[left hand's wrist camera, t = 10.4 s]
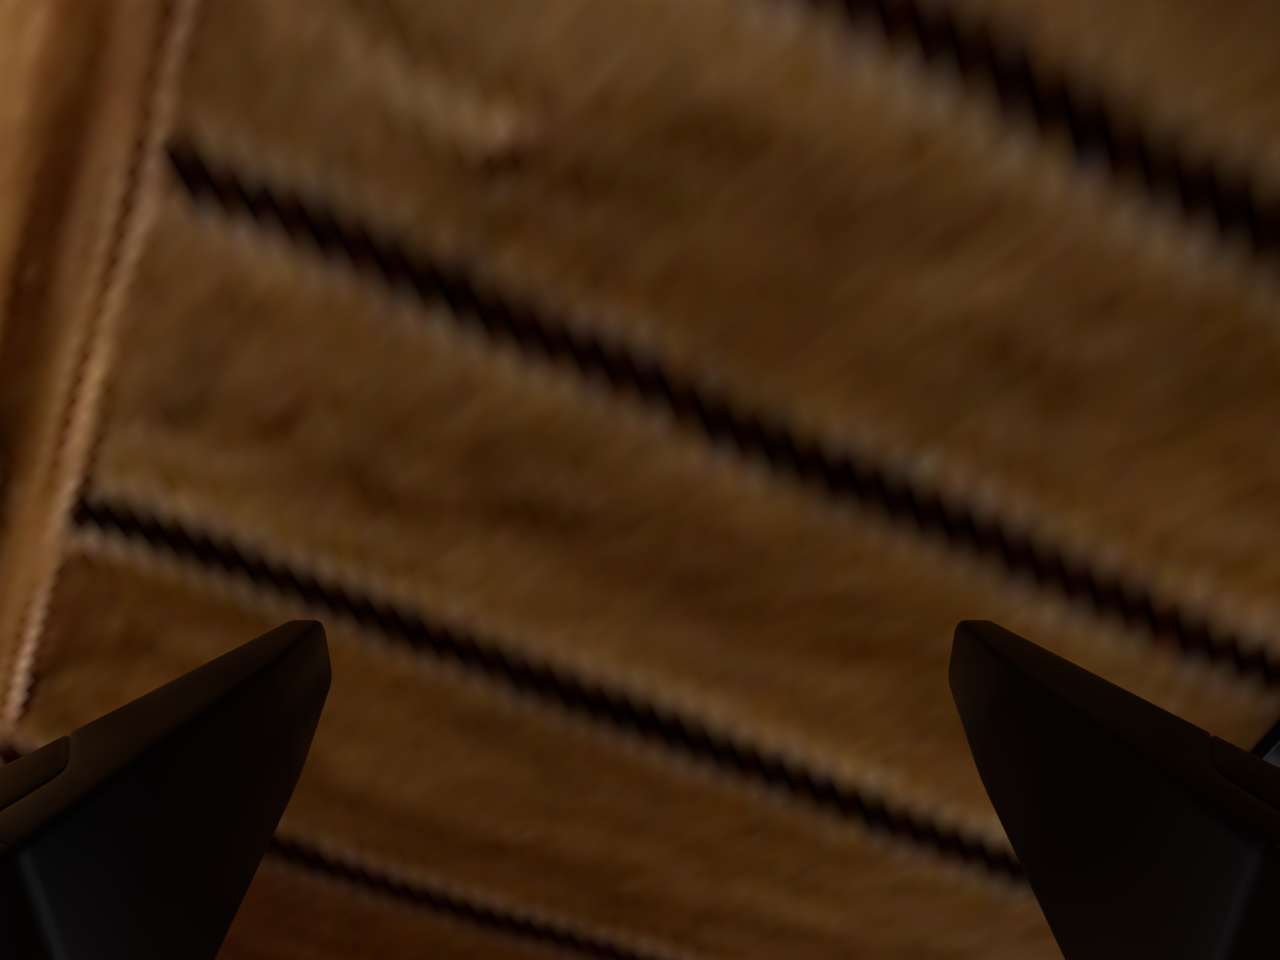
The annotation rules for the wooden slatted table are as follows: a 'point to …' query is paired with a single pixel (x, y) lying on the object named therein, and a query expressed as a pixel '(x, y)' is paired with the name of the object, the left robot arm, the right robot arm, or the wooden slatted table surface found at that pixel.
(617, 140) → the wooden slatted table surface
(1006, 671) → the left robot arm
